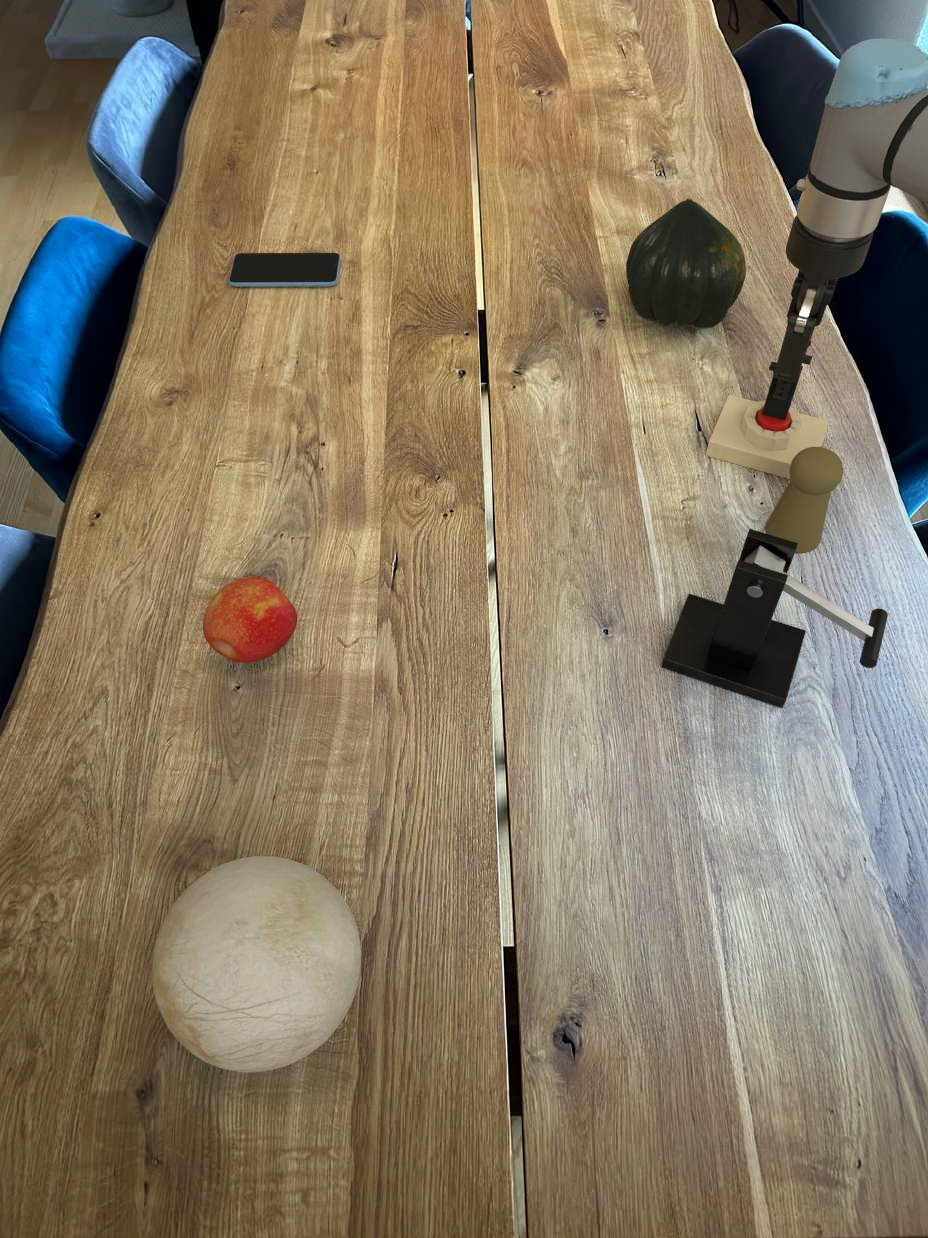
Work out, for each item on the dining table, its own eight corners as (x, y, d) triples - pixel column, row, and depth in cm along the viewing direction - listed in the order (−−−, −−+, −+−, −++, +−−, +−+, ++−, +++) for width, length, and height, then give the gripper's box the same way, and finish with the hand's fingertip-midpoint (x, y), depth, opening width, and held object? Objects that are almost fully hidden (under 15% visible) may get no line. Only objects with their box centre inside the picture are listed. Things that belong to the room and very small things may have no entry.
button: (790, 420, 117) (794, 409, 116) (783, 440, 115) (787, 428, 114) (759, 412, 118) (762, 401, 117) (752, 432, 116) (755, 420, 115)
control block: (824, 435, 120) (834, 408, 117) (808, 484, 115) (818, 458, 112) (725, 408, 123) (731, 381, 120) (705, 455, 118) (711, 429, 115)
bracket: (802, 639, 102) (846, 540, 90) (782, 708, 97) (825, 613, 85) (686, 602, 104) (713, 501, 93) (660, 667, 99) (686, 570, 88)
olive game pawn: (822, 517, 112) (851, 442, 103) (821, 557, 108) (852, 483, 99) (766, 508, 113) (791, 433, 104) (763, 547, 109) (789, 473, 100)
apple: (313, 643, 101) (302, 593, 95) (246, 693, 98) (231, 645, 91) (263, 600, 105) (250, 548, 98) (197, 646, 101) (179, 596, 95)
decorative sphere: (405, 1015, 79) (394, 948, 67) (233, 1138, 74) (188, 1089, 62) (309, 868, 87) (283, 784, 75) (147, 970, 82) (92, 897, 70)
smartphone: (234, 251, 142) (341, 251, 142) (235, 257, 142) (341, 256, 142) (226, 282, 137) (337, 281, 137) (227, 288, 138) (337, 287, 138)
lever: (877, 623, 94) (895, 611, 92) (865, 672, 90) (884, 661, 88) (749, 543, 93) (765, 530, 91) (733, 590, 89) (749, 577, 87)
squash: (709, 333, 123) (754, 207, 119) (596, 301, 128) (637, 179, 124) (727, 350, 136) (769, 237, 132) (625, 320, 141) (662, 210, 137)
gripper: (809, 180, 101) (755, 370, 120) (780, 248, 94) (727, 440, 112) (886, 196, 99) (819, 387, 118) (862, 267, 92) (795, 459, 110)
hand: (774, 413), depth 115 cm, fingers closed
